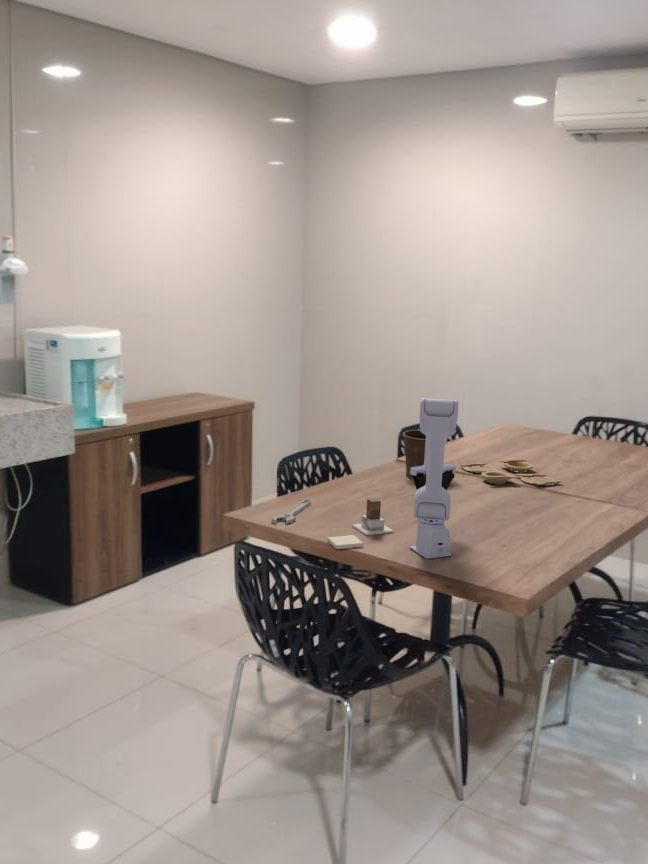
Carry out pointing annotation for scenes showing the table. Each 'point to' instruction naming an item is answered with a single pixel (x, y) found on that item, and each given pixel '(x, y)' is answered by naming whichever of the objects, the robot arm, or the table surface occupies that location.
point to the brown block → (373, 516)
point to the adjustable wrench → (291, 513)
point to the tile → (345, 542)
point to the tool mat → (368, 532)
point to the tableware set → (502, 478)
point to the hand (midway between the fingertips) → (431, 496)
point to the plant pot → (414, 449)
